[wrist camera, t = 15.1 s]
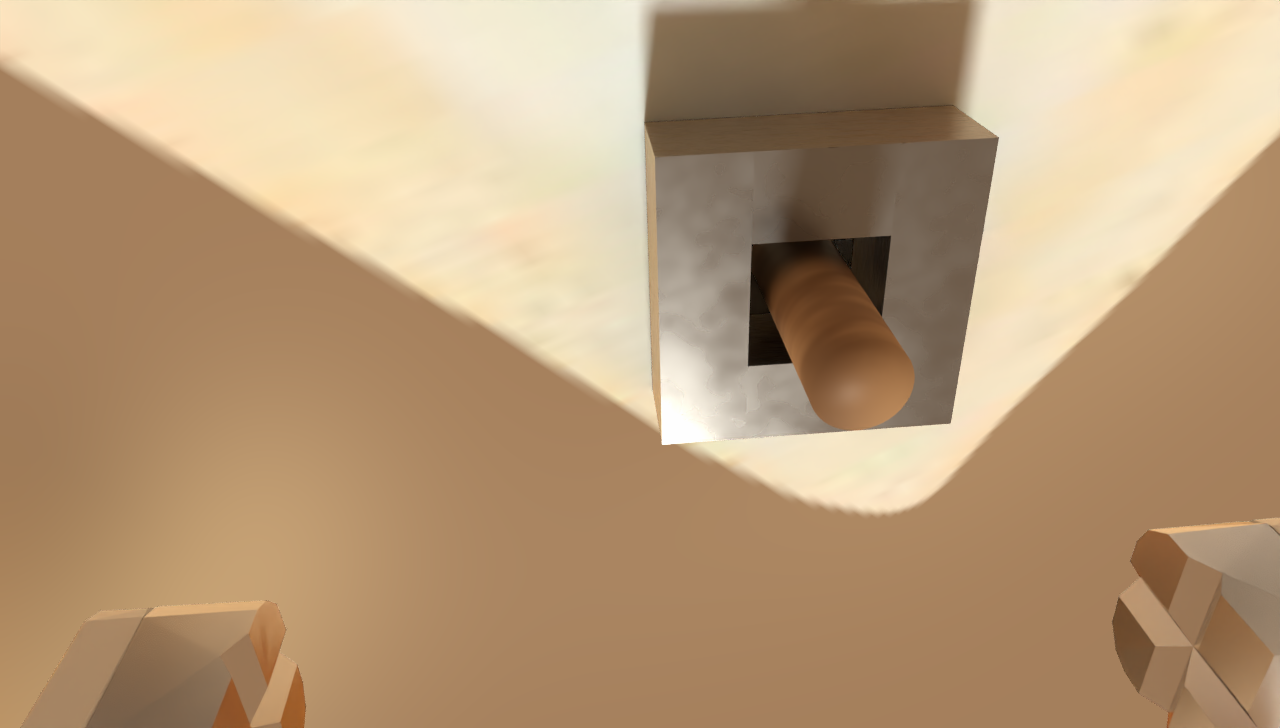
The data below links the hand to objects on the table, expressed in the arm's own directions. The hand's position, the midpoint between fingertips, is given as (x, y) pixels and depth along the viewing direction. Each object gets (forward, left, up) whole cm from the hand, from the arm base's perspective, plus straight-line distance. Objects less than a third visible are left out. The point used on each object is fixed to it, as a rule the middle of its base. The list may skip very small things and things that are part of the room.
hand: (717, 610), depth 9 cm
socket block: (-9, +12, -34) cm, 37 cm away
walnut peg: (-9, +12, -34) cm, 37 cm away
